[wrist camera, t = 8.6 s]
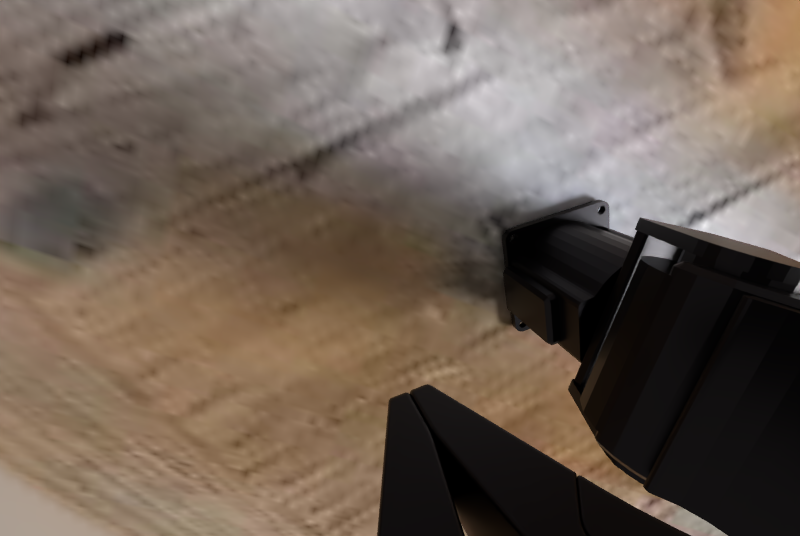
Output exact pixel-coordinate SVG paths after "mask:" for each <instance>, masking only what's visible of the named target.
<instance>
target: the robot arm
mask: <svg viewBox="0 0 800 536" xmlns="http://www.w3.org/2000/svg"><path fill="white" fill-rule="evenodd" d="M599 207H600V210H599V212H598V209H599ZM635 230H637V232H636V235H635V237H634V238H633V237H630V236H628V235H625V234H622V233H620V232H617V231H614V230H612V229H609V205H608V203H607V202H605V201H601V200H595V201H592V202H589V203H586V204H583V205H580V206H577V207H574V208H571V209H568V210H565V211H562V212H559V213H555V214H552V215H549V216H546V217H543V218H540V219H537V220H534V221H531V222H528V223H525V224H522V225H519V226H516V227H513V228H509V229H508V230H506V231H505V232H504V233H503V236H502V244H503V252H504V260H505V269H504V271H503V276H504V284H505V293H506V301H507V308H508V310H510V311H511V318H512V325H513V326H514V327H515V328H516V329H517V330H518V331H525V330H528V329H531V330H533V331H534V332H535V333H536V334H537V335H538V336H540V337H541V338H542V339H543V340H544V341H545V342H547V343H549V344H551V345H554V344H556V343H558V344H559V345H560V346H561V347H563V348H564V349H565V350H566V351H567V352H569V353H570V354H571V355H572V356H573V357H575V358H576V359H577V360H578V361H579V362H581V365H580V368H579V370H578V373H577V375H576V377H575V379H572V381H571V383H570V386H569V388H568V390H569V392H570V394H571V396H572V397H573V399H574V401H575V403H576V404H577V406H578V408H579V410H580V411H581V413H582V415H583V417H584V418H585V420H586V422H587V424H588V425H589V427H590V429H591V431H592V432H593V434H594V436H595V439H596V441H597V442H598V444H599V446H600V447H601V448H602V449H603V451H604V452H605V454H606V455H607V456H608V457H609V458H610V459H611V461H612V462H613V464H614V465H615V466H617V467H618V468H620V469H621V470H623V471H624V472H625V473H626V474H628V475H629V476H631V477H632V478H634V479H635V480H637V481H638V482H640V483H642V484H644V485H643V487H644V488H645V489H646V491H648V492H649V493H651V494H653V495H655V496H658V497H660V498H663V499H665V500H667V501H670V502H672V503H674V504H677V505H679V506H681V507H683V508H684V509H686V510H688V511H690V512H691V513H693V514H695V515H697V516H698V517H700V518H702V519H704V520H705V521H707V522H709V523H710V524H712V525H713V526H715V527H716V528H718V529H719V530H721V531H722V532H724V533H725V534H727V535H728V536H800V262H798V261H795V260H793V259H791V258H788V257H786V256H783V255H781V254H778V253H776V252H773V251H771V250H768V249H764V248H761V247H757V246H754V245H750V244H747V243H743V242H740V241H736V240H733V239H729V238H726V237H722V236H719V235H715V234H711V233H707V232H702V231H698V230H693V229H689V228H684V227H680V226H676V225H671V224H667V223H662V222H658V221H653V220H649V219H645V218H640V219H639V221H638V223H637V226H636V228H635ZM512 235H514V239H513V240H512V241H510V238H511V236H512ZM521 321H522V323H521V324H520V322H521ZM461 524H462V525H461ZM462 526H463V528H464V530H465V531H466V533H467V535H468V536H691V535H689V534H687V533H684V532H682V531H680V530H678V529H676V528H674V527H672V526H670V525H668V524H666V523H664V522H663V521H661V520H659V519H657V518H655V517H653V516H651V515H649V514H647V513H645V512H643V511H641V510H639V509H637V508H635V507H633V506H632V505H630V504H628V503H626V502H625V501H623V500H621V499H619V498H618V497H616V496H614V495H612V494H611V493H609V492H607V491H605V490H604V489H602V488H600V487H599V486H597V485H595V484H594V483H592V482H590V481H589V480H587V479H585V478H584V477H582V476H580V475H579V476H576V473H575V472H573V471H572V470H570V469H569V468H567V467H565V466H564V465H562V464H560V463H559V462H557V461H555V460H554V459H552V458H550V457H549V456H547V455H545V454H544V453H542V452H540V451H539V450H537V449H535V448H534V447H532V446H530V445H529V444H527V443H525V442H524V441H522V440H520V439H519V438H517V437H515V436H514V435H512V434H511V433H509V432H507V431H506V430H504V429H502V428H501V427H499V426H497V425H496V424H494V423H492V422H491V421H489V420H487V419H486V418H484V417H482V416H481V415H479V414H477V413H476V412H474V411H472V410H471V409H469V408H467V407H466V406H464V405H462V404H461V403H459V402H458V401H456V400H454V399H453V398H451V397H449V396H448V395H446V394H444V393H443V392H441V391H439V390H438V389H436V388H434V387H433V386H431V385H428V384H427V385H423V386H421V387H418V388H416V389H413V390H411V392H410V394H409V393H403V394H400V395H398V396H395V397H393V398H391V399H390V400H389V404H388V416H387V428H386V439H385V451H384V463H383V474H382V486H381V497H380V509H379V521H378V532H377V536H465V535H464V532H463V529H462Z"/></svg>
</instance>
